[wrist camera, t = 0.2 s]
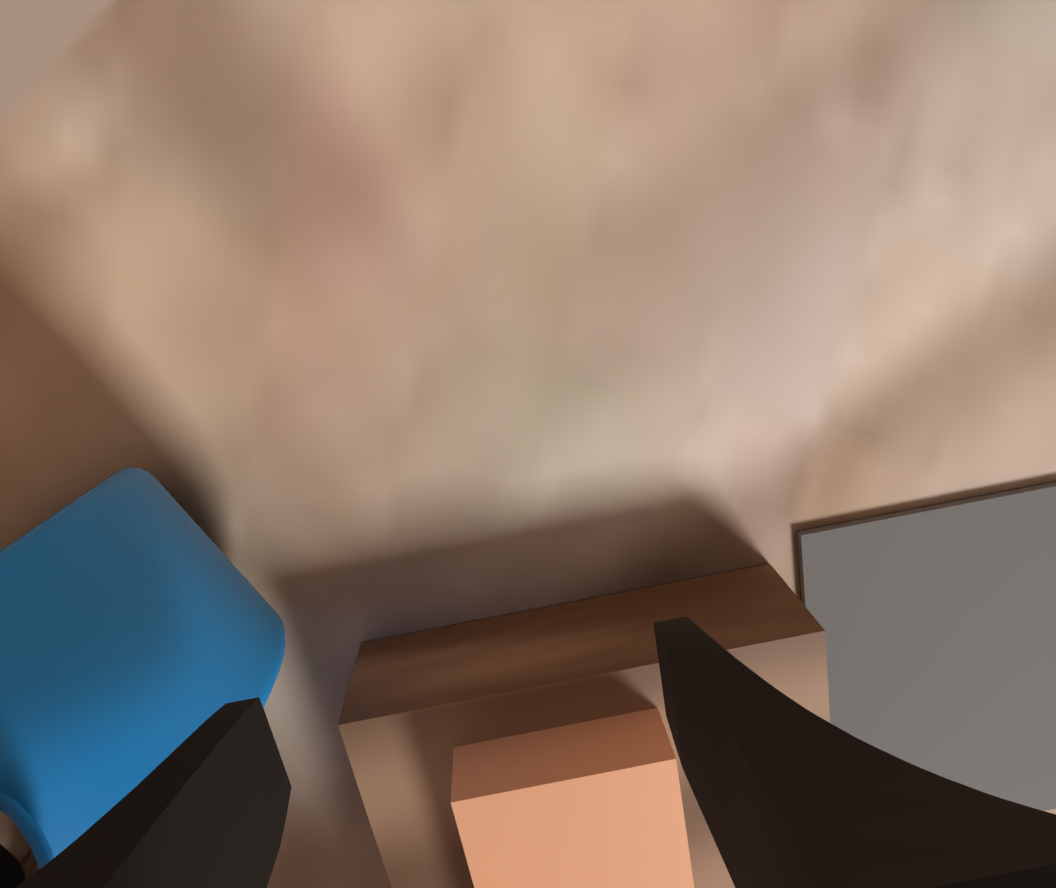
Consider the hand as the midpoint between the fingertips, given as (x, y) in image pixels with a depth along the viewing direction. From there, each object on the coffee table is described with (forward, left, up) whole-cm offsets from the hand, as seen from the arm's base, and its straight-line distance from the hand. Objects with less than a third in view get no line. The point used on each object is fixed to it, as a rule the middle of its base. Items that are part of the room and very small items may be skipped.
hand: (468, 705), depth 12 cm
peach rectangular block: (-10, -1, -6) cm, 12 cm away
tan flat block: (-10, -2, -10) cm, 15 cm away
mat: (-10, -16, -10) cm, 22 cm away
